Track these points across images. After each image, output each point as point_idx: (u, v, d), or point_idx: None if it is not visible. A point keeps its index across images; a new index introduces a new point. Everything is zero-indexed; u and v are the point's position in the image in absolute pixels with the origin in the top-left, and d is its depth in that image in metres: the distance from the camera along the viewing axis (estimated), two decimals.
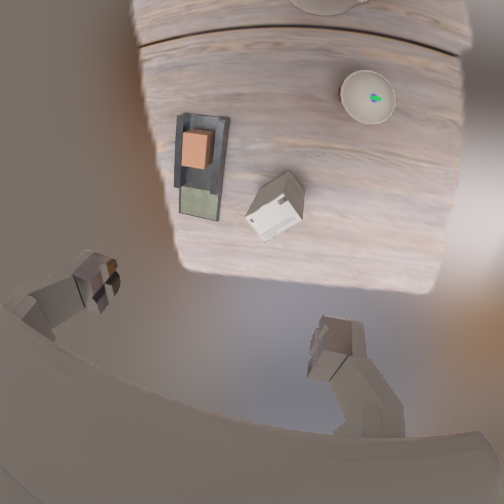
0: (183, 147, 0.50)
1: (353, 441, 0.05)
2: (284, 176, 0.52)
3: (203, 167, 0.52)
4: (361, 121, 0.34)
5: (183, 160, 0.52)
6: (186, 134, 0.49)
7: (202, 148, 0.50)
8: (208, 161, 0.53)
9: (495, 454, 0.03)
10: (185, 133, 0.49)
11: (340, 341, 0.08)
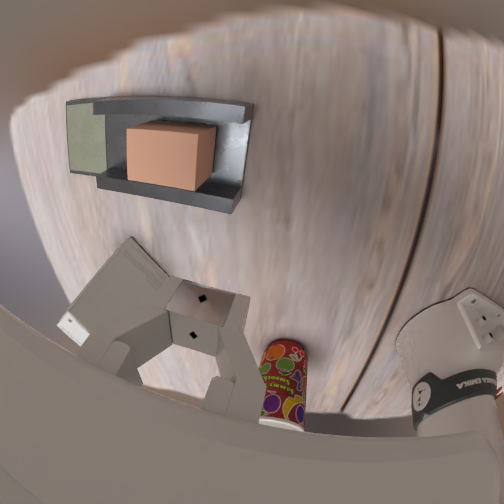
0: (163, 133, 0.20)
1: (353, 441, 0.05)
2: (155, 289, 0.34)
3: (130, 178, 0.23)
4: None
5: (137, 133, 0.21)
6: (193, 142, 0.20)
7: (165, 179, 0.23)
8: None
9: (495, 454, 0.03)
10: (196, 139, 0.20)
11: (214, 312, 0.08)
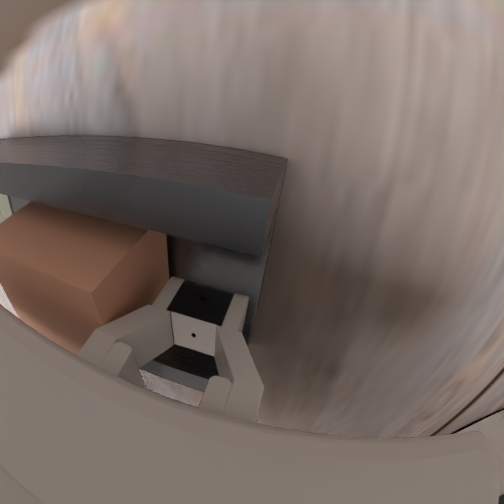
0: (28, 269, 0.07)
1: (353, 441, 0.05)
2: None
3: (23, 321, 0.10)
4: None
5: None
6: (89, 308, 0.07)
7: (70, 348, 0.09)
8: None
9: (495, 454, 0.03)
10: (92, 302, 0.06)
11: (212, 311, 0.08)
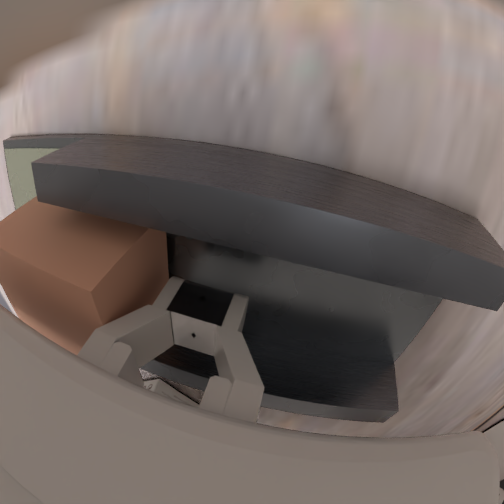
0: (27, 267, 0.07)
1: (353, 441, 0.05)
2: None
3: (22, 319, 0.10)
4: None
5: None
6: (88, 306, 0.07)
7: (69, 346, 0.09)
8: None
9: (495, 454, 0.03)
10: (91, 300, 0.06)
11: (212, 311, 0.08)
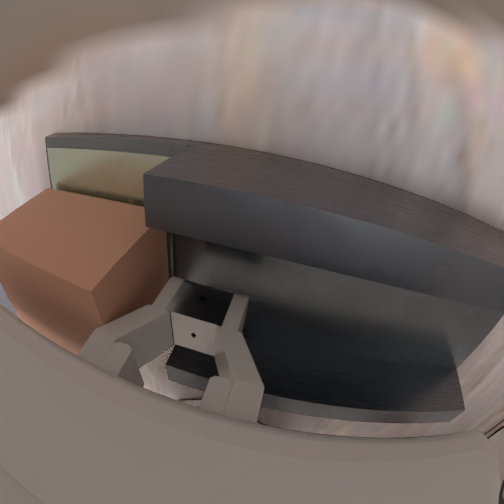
0: (28, 266, 0.07)
1: (353, 441, 0.05)
2: None
3: (22, 319, 0.10)
4: None
5: None
6: (88, 306, 0.07)
7: (69, 346, 0.09)
8: None
9: (495, 454, 0.03)
10: (91, 300, 0.06)
11: (212, 311, 0.08)
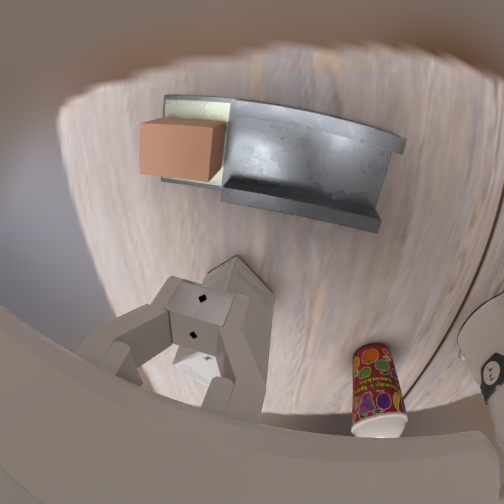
0: (178, 127, 0.22)
1: (353, 441, 0.05)
2: (269, 309, 0.34)
3: (143, 172, 0.24)
4: (356, 426, 0.30)
5: (151, 128, 0.22)
6: (208, 135, 0.22)
7: (179, 171, 0.24)
8: None
9: (495, 454, 0.03)
10: (210, 132, 0.22)
11: (213, 312, 0.08)
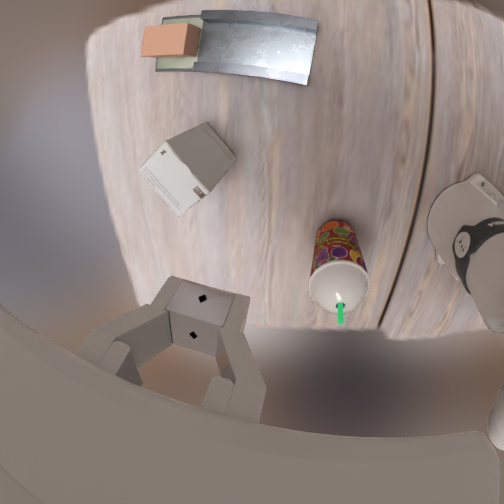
0: (167, 25, 0.27)
1: (353, 441, 0.05)
2: (228, 160, 0.39)
3: (143, 55, 0.30)
4: (311, 279, 0.35)
5: (151, 28, 0.27)
6: (184, 27, 0.27)
7: (165, 50, 0.29)
8: (154, 56, 0.32)
9: (495, 454, 0.03)
10: (186, 25, 0.27)
11: (213, 312, 0.08)
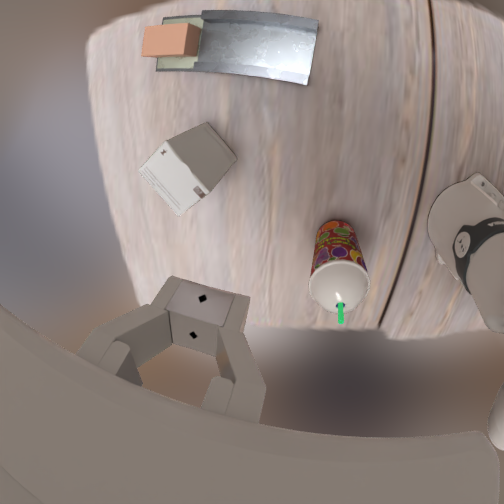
0: (168, 25, 0.27)
1: (353, 441, 0.05)
2: (229, 160, 0.39)
3: (143, 55, 0.30)
4: (311, 279, 0.35)
5: (151, 28, 0.27)
6: (185, 27, 0.27)
7: (166, 50, 0.29)
8: (154, 56, 0.32)
9: (495, 454, 0.03)
10: (186, 25, 0.27)
11: (213, 312, 0.08)
